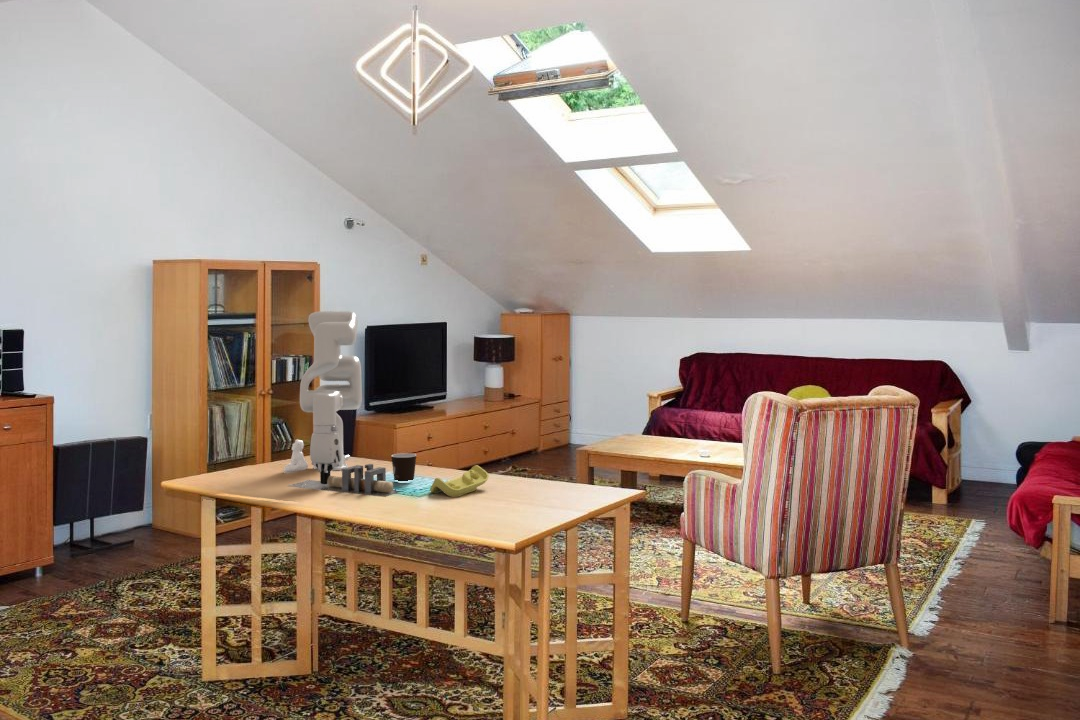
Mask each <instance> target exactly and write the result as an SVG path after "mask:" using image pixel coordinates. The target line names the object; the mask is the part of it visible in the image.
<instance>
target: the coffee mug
mask: <svg viewBox="0 0 1080 720" xmlns="http://www.w3.org/2000/svg"><path fill="white" fill-rule="evenodd" d="M390 459H391V464H392V471H393V481H394V480H398V481H408V480H413V479H414V480H415V471H416V463H417V462H416V461H417V454H416V453H411V452H410V453H405V452H402V453H394V454H392V455H391V458H390Z"/></svg>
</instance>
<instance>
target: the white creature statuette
mask: <svg viewBox="0 0 1080 720" xmlns="http://www.w3.org/2000/svg"><path fill="white" fill-rule="evenodd" d="M291 445H292V446H291V451H292V455H291V459H290V462H288V464H285V465H284V468H283V473H284V474H285V473H288V474H292V473H295V472H299V471H305V470H307V469H308V468H309V463H308V461H307V460H306V459H305V457H304V452H303V449H304V447H305V444H304V441H303V440H301V439H295V440H294V442H293V443H292V444H291Z"/></svg>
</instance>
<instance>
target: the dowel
mask: <svg viewBox="0 0 1080 720" xmlns="http://www.w3.org/2000/svg"><path fill="white" fill-rule="evenodd" d="M327 484H328V486H329V487H339V488H342V476H337V475H336V476H335V475H330V476H329V478H328V480H327ZM351 489H354V477H351ZM393 489H394V483H393V482H392V481H377V479H376V480H375V479H374V491H376V492H386V493H391V492H392V490H393ZM361 490H365V478H363V479H361Z"/></svg>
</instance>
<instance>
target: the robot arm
mask: <svg viewBox="0 0 1080 720" xmlns="http://www.w3.org/2000/svg"><path fill="white" fill-rule="evenodd" d="M308 326H309V329H310V331H311V333H312V335H313V339H314V340H313V363H312V364H311V365H310V366H309V367H308V368H307V370H306V371H304V374H303V375H302V377H301V380H300V385H299V405H300V409H301V410H302V411H303V412H304V413H312V425H313V427H312V428H313V432H312V434H311V438H310V447H309V457H310V462H311V465H312V466H313V470H317V471H318V472H319V474H320V476H319V477H320V480H319V481H321V484H327V480H328V478H329V476H331V473H332V471H342V469H344V468H348V467H349V466H348V463H345V462H346V461H348V460H350V459H351V455H349V454H346V455H345V454H344V422H343V419H342V417H341V416H340V415H339V414H338V413H337V412H338V411H340V410H341V411H342V410H343V411H345V410H346V411H348V410H350V411H351V410H352V411H353V410H358V409H359V408H361V406H362V402H363V391H362V390H363V386H362V385H363V384H362V383H363V381H362V363H361V360H360V359H359V358H358V357H357V356H356V355H342V353H341V346H353V345H355V343H356V341H357V335H358V317H357V314H356V313H355V312H354V311H349V310H348V311H343V310H341V311H336V310H335V311H334V310H333V311H332V310H330V311H329V310H326V311H322V310H321V311H320V310H319V311H315V312H312V313H310V314H309V316H308ZM317 377H318V378H319V379H320V380H322V381H325V382H348V384H337V383H336V384H322V385H319V386H317V387H316V388H315V389H314V390H309V387H310V383H311V382H312V381H313V380H314V379H316V378H317Z"/></svg>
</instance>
